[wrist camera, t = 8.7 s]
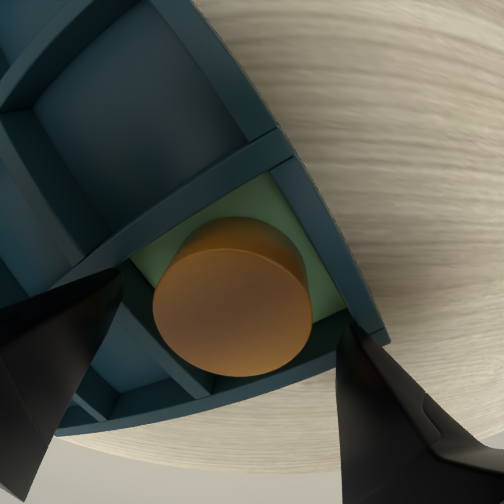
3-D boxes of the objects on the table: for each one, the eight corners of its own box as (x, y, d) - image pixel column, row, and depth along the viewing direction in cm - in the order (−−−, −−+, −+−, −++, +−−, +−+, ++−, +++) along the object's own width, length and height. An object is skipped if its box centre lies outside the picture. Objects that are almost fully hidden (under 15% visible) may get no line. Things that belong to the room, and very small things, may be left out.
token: (328, 299, 11) (338, 345, 9) (222, 346, 12) (213, 391, 10) (261, 188, 9) (257, 215, 7) (148, 257, 11) (121, 294, 9)
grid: (373, 299, 12) (391, 343, 10) (70, 410, 18) (56, 437, 16) (97, -100, 5) (69, -123, 2) (-93, 180, 11) (-117, 193, 8)
